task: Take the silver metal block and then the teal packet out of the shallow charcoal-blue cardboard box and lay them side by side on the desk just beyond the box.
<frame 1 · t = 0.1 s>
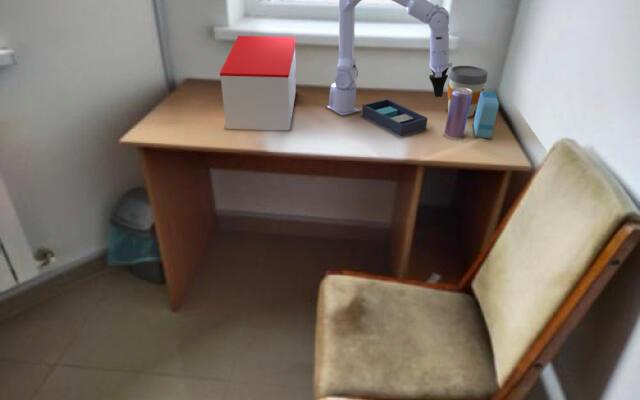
hand: (439, 92, 145), 10 cm above the table, tool pointing down, fingers open, 7 cm apart
lidded jar: (460, 112, 158), on the table
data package: (481, 132, 145), on the table
red-topped white block: (264, 109, 157), on the table
box: (392, 123, 149), on the table
teal packet: (385, 117, 151), resting on box
beverage can: (453, 135, 142), on the table
silver metal block: (400, 125, 146), resting on box
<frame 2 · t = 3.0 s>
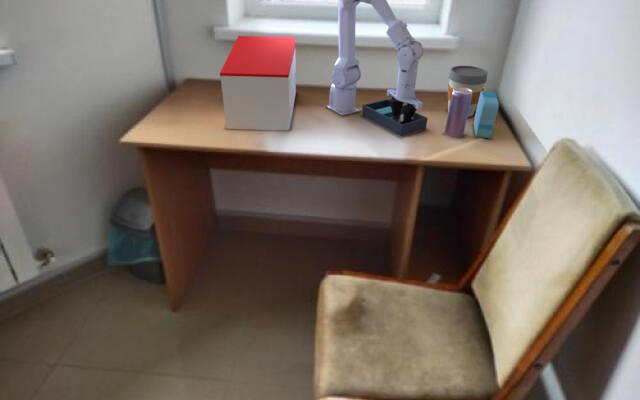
hand: (401, 122, 145), 2 cm above the table, tool pointing down, fingers closed on silver metal block, 4 cm apart
silver metal block: (400, 125, 146), point 1 cm above the table, touching box, gripper
everything else where it was.
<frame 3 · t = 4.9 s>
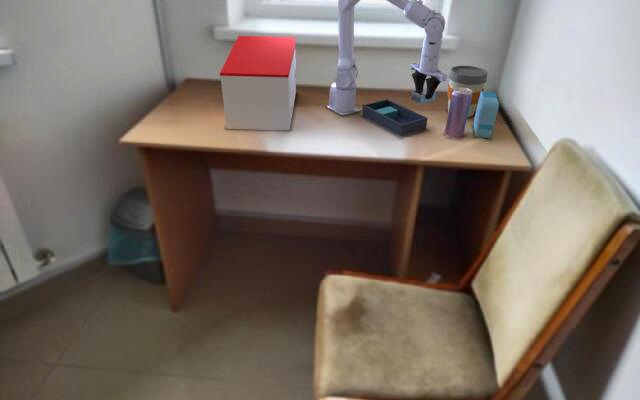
hand: (423, 96, 147), 9 cm above the table, tool pointing down, fingers closed on silver metal block, 4 cm apart
silver metal block: (423, 99, 147), point 7 cm above the table, touching gripper
everything else where it was.
when the fingers open (1 cm above the table, at t = 7.3 s): silver metal block stays where it is, on the table.
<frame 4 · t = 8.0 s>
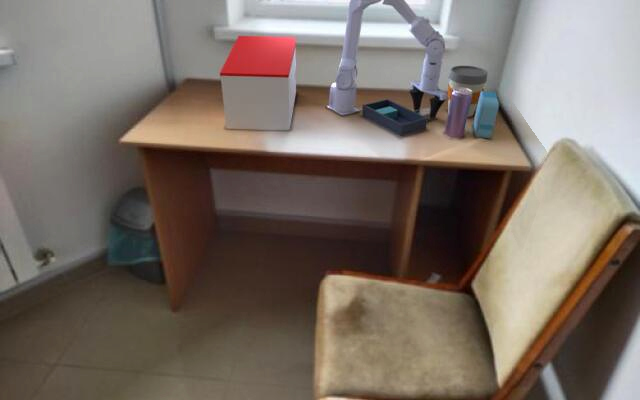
hand: (424, 113, 151), 2 cm above the table, tool pointing down, fingers open, 7 cm apart
silver metal block: (423, 119, 152), on the table
everything else where it was.
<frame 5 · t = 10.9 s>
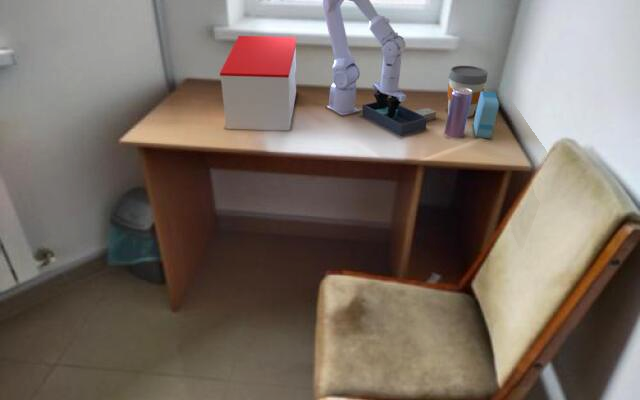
hand: (386, 115, 151), 2 cm above the table, tool pointing down, fingers closed on teal packet, 4 cm apart
teal packet: (385, 117, 151), point 1 cm above the table, touching gripper
everything else where it was.
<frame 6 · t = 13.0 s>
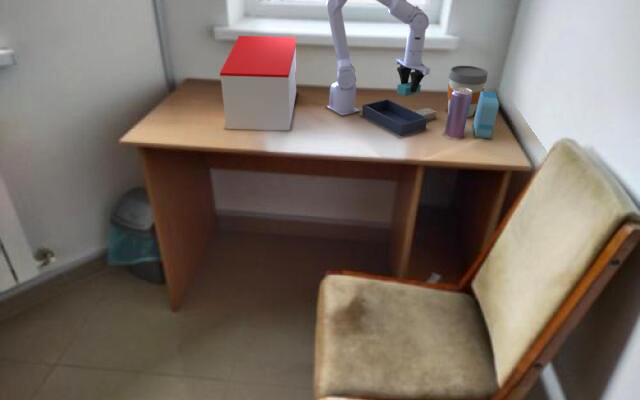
hand: (408, 89, 153), 8 cm above the table, tool pointing down, fingers closed on teal packet, 4 cm apart
teal packet: (408, 92, 153), point 7 cm above the table, touching gripper
everything else where it was.
when the fingers open (1 cm above the table, at t = 15.3 s): teal packet stays where it is, on the table.
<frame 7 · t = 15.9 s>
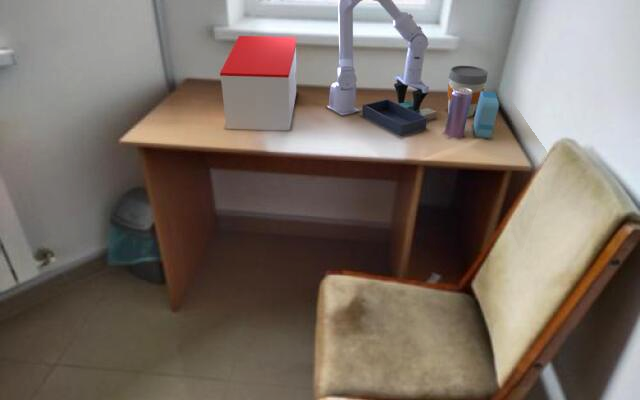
hand: (408, 106, 157), 2 cm above the table, tool pointing down, fingers open, 7 cm apart
teal packet: (407, 111, 158), on the table
everything else where it was.
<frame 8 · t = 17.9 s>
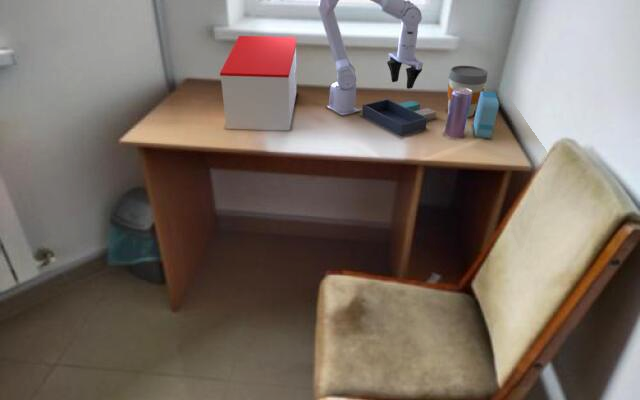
hand: (402, 84, 152), 10 cm above the table, tool pointing down, fingers open, 7 cm apart
nothing on the table moved.
at the end: silver metal block inside the target area (0.2 cm from its centre), on the table; teal packet inside the target area (0.4 cm from its centre), on the table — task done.
